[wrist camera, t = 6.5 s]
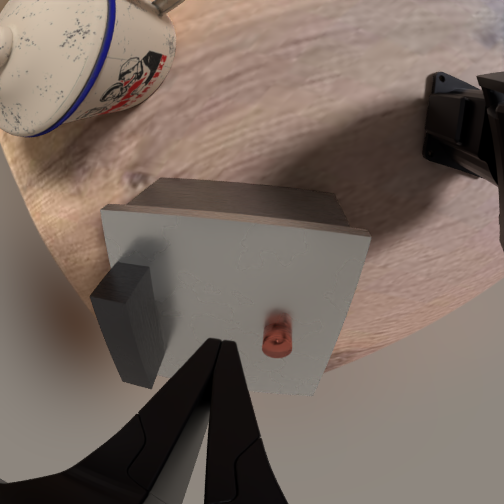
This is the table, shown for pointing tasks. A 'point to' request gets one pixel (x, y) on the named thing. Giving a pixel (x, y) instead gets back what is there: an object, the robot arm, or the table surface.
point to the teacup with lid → (80, 59)
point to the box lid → (225, 292)
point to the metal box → (243, 200)
